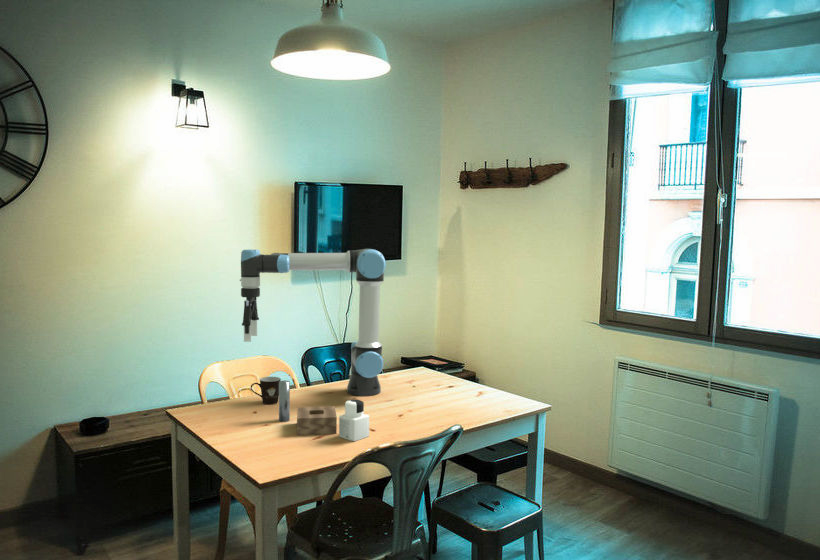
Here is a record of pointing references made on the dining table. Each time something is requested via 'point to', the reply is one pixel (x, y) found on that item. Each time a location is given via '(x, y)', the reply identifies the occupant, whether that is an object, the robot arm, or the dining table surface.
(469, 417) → the dining table surface
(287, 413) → the pin
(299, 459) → the dining table surface
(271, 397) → the coffee mug
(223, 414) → the dining table surface
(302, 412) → the bore block
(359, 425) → the container
